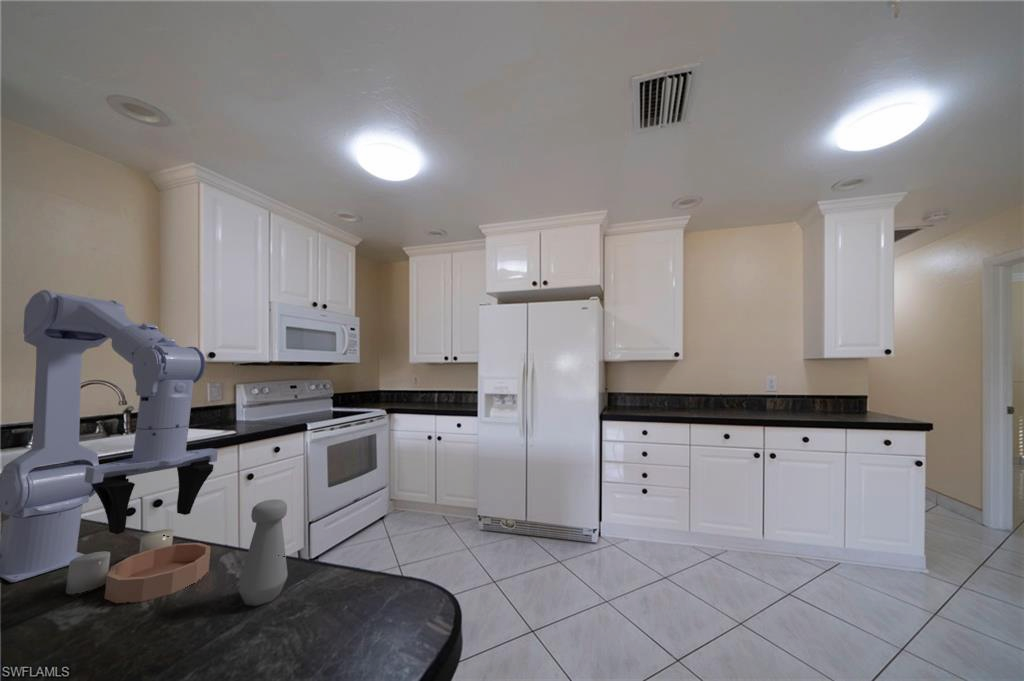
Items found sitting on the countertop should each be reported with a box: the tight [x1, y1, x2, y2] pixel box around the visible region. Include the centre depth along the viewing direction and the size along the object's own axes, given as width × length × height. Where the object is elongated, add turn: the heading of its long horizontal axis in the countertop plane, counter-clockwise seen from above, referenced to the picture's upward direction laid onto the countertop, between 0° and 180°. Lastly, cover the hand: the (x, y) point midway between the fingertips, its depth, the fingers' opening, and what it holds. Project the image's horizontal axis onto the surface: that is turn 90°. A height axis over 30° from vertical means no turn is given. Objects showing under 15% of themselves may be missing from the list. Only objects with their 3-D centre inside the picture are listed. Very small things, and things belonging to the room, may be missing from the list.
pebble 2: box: [138, 528, 174, 554], centre depth 63 cm, size 4×4×4 cm
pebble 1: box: [65, 550, 111, 595], centre depth 54 cm, size 4×4×4 cm
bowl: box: [104, 542, 211, 604], centre depth 56 cm, size 11×11×3 cm
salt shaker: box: [238, 498, 288, 607], centre depth 53 cm, size 6×6×13 cm
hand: (152, 522), depth 54 cm, fingers open, 7 cm apart
